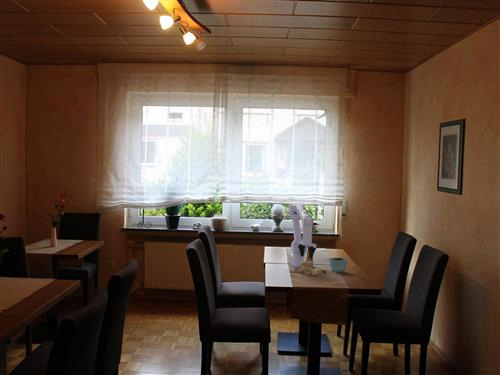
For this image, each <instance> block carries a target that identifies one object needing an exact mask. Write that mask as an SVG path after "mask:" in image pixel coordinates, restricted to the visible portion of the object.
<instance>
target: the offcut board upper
mask: <svg viewBox="0 0 500 375" xmlns="http://www.w3.org/2000/svg"><path fill="white" fill-rule="evenodd" d="M317 268H318V267H316V269H312V270H309V272H311V273H317V272H321V271H322V269H323V268H320V269H317Z"/></svg>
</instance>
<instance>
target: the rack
mask: <svg viewBox="0 0 500 375" xmlns="http://www.w3.org/2000/svg"><path fill="white" fill-rule="evenodd" d="M316 268H317V269H322V271H323V274H322V275H325V274H327V270H326V269H323V268H318V267H315V266H312V269H316ZM308 271H309V270H308ZM308 271H304V270H300V268H294V272H295V273H298V274H302V275H305V276H309V277H313V276H319V275H321V274H317V275H312V273H311V272H308Z"/></svg>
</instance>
